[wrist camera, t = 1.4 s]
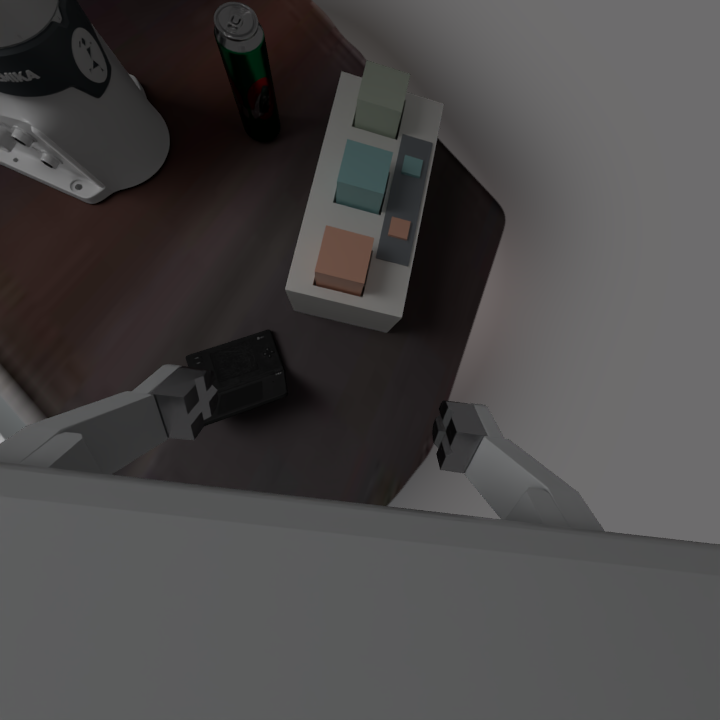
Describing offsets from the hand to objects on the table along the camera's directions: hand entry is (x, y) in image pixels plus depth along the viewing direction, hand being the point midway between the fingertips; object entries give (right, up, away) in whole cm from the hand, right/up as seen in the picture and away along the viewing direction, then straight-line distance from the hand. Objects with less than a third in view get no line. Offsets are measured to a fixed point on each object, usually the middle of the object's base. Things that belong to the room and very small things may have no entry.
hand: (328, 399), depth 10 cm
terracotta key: (-1, +11, +22) cm, 25 cm away
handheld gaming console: (-14, -1, +26) cm, 30 cm away
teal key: (+1, +21, +24) cm, 32 cm away
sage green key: (+3, +31, +25) cm, 40 cm away
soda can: (-13, +35, +30) cm, 48 cm away
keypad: (+1, +20, +30) cm, 36 cm away
